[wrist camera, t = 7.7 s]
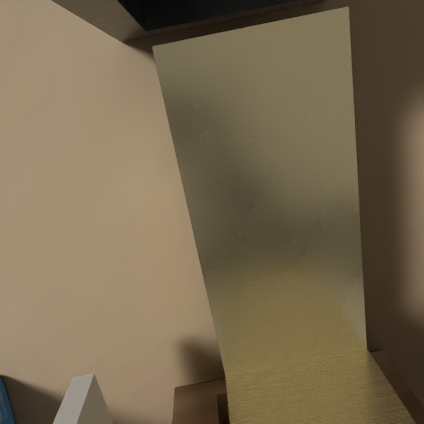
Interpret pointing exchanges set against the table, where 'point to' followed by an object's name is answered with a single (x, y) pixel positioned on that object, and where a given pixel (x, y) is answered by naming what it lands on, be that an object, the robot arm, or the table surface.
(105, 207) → the table surface
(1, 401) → the ink box
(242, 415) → the l-shaped notched block
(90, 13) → the sleeve
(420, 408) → the socket
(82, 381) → the robot arm
